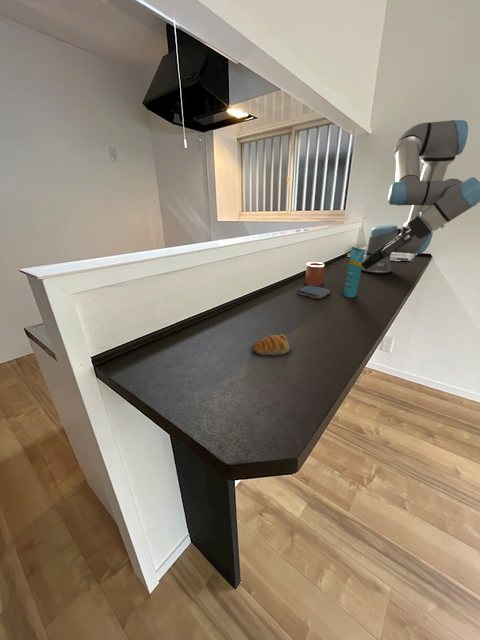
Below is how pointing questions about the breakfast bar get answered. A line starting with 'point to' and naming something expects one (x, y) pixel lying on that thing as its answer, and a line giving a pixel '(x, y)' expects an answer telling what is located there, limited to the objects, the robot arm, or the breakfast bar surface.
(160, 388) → the breakfast bar surface
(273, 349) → the pastry
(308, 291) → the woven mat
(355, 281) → the tube
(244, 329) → the breakfast bar surface
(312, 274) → the cup
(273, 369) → the breakfast bar surface
